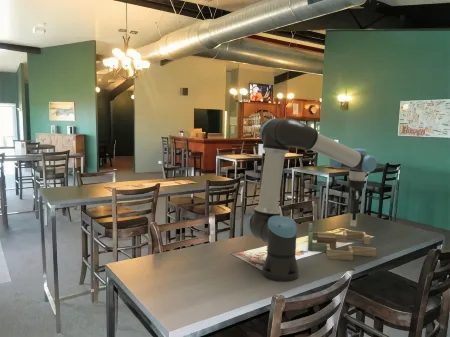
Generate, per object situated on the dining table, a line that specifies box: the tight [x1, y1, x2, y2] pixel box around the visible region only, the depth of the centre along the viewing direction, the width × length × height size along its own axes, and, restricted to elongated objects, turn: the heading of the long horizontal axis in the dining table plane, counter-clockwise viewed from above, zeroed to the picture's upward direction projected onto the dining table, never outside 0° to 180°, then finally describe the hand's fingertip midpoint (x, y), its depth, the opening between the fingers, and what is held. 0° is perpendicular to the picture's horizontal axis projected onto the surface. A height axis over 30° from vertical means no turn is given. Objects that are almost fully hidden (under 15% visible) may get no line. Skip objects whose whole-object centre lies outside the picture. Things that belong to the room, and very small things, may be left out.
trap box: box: [307, 222, 377, 262], centre depth 183 cm, size 36×32×9 cm
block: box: [316, 231, 337, 250], centre depth 186 cm, size 9×9×6 cm
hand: (353, 225), depth 181 cm, fingers closed
